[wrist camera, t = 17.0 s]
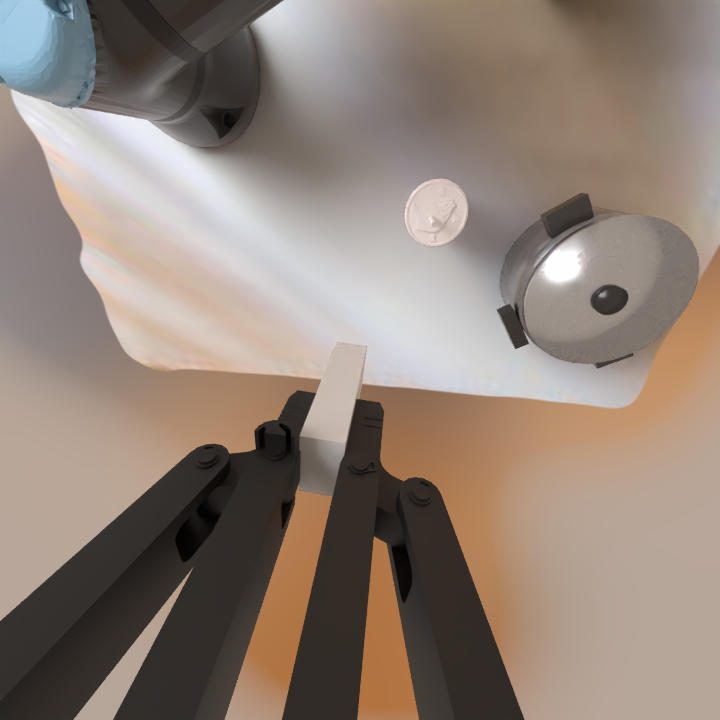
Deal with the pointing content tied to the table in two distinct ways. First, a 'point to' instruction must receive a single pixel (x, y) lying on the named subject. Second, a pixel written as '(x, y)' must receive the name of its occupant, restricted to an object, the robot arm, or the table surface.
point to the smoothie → (436, 212)
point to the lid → (610, 288)
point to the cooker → (533, 250)
